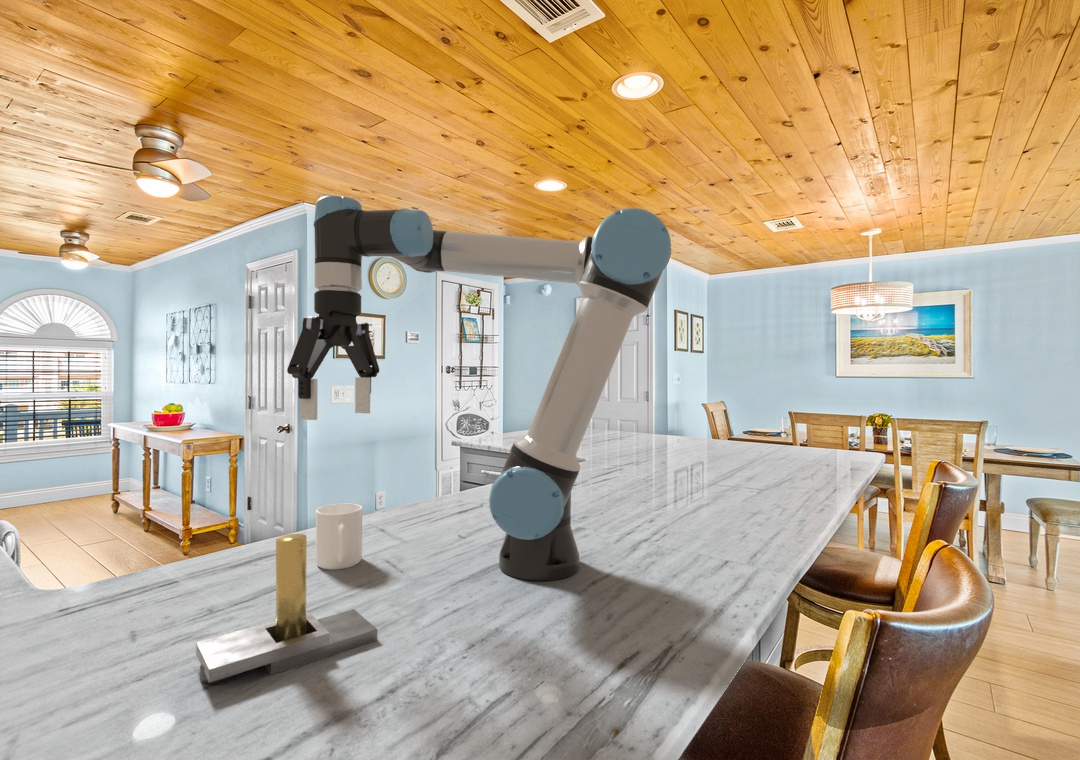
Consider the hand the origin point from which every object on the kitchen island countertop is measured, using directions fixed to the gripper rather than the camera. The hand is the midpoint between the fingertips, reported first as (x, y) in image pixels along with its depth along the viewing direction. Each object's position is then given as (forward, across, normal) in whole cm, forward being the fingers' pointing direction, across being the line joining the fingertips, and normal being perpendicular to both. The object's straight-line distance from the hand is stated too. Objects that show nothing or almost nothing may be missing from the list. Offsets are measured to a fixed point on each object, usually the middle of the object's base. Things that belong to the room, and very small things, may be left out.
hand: (337, 416), depth 94 cm
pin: (+29, +21, +10) cm, 37 cm away
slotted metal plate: (+29, +21, +10) cm, 37 cm away
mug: (+29, -7, -5) cm, 30 cm away
